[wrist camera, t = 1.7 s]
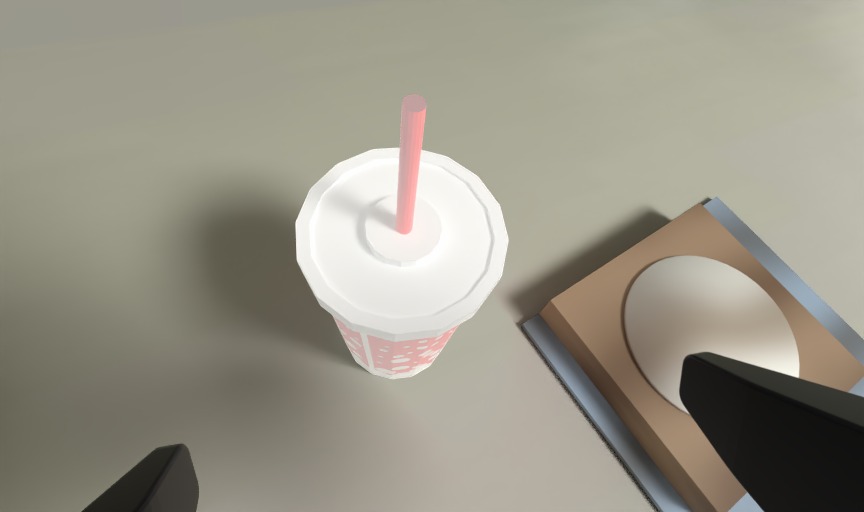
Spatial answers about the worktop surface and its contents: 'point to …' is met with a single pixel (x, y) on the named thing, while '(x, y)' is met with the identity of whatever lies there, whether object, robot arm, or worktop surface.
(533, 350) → the worktop surface
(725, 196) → the worktop surface
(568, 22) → the worktop surface
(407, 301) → the beverage cup
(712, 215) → the blueprint plinth
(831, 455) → the robot arm
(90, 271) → the worktop surface
